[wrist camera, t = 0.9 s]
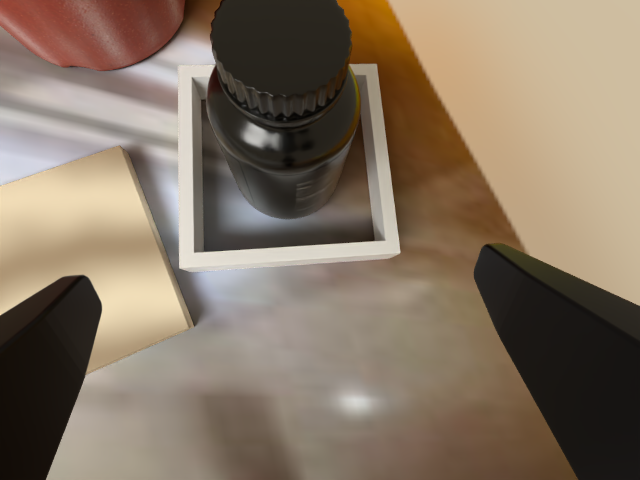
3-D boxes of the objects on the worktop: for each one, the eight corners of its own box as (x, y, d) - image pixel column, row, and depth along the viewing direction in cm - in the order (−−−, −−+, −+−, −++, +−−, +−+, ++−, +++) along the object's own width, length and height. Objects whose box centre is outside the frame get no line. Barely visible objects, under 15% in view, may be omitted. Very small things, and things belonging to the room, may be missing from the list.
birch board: (194, 327, 21) (188, 328, 19) (19, 403, 19) (2, 410, 18) (128, 154, 22) (119, 145, 21) (-37, 211, 21) (-57, 205, 19)
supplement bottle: (334, 126, 24) (379, -47, 12) (340, 220, 23) (395, 128, 11) (234, 125, 23) (181, -57, 12) (234, 222, 22) (174, 127, 10)
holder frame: (388, 258, 23) (400, 253, 20) (191, 272, 21) (179, 268, 19) (368, 86, 25) (376, 63, 23) (188, 89, 24) (177, 65, 21)
